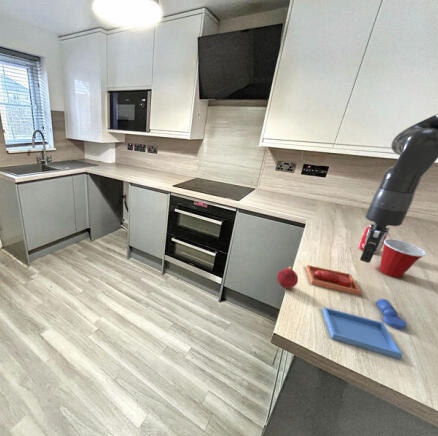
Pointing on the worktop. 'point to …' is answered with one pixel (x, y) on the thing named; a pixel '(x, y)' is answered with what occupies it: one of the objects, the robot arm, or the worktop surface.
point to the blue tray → (361, 332)
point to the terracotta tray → (329, 284)
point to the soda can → (363, 242)
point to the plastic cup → (399, 257)
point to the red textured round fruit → (287, 278)
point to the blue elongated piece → (390, 315)
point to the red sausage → (333, 278)
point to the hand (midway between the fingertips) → (367, 256)
